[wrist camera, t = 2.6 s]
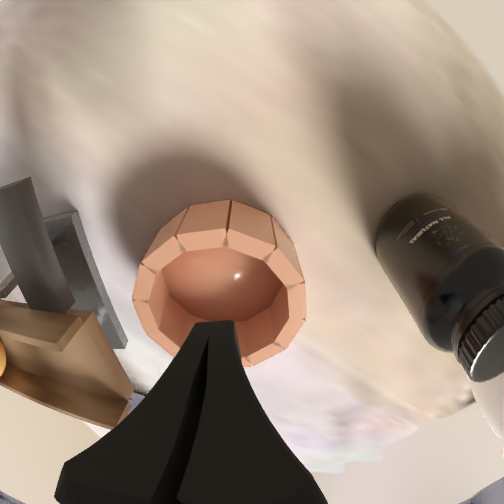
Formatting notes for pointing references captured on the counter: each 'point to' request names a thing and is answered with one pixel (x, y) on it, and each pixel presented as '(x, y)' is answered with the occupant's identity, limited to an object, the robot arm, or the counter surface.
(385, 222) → the supplement bottle
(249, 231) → the cup
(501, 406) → the white tapered cylinder
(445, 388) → the counter surface
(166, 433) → the robot arm
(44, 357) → the brown tray
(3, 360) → the ball
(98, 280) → the trough stand
